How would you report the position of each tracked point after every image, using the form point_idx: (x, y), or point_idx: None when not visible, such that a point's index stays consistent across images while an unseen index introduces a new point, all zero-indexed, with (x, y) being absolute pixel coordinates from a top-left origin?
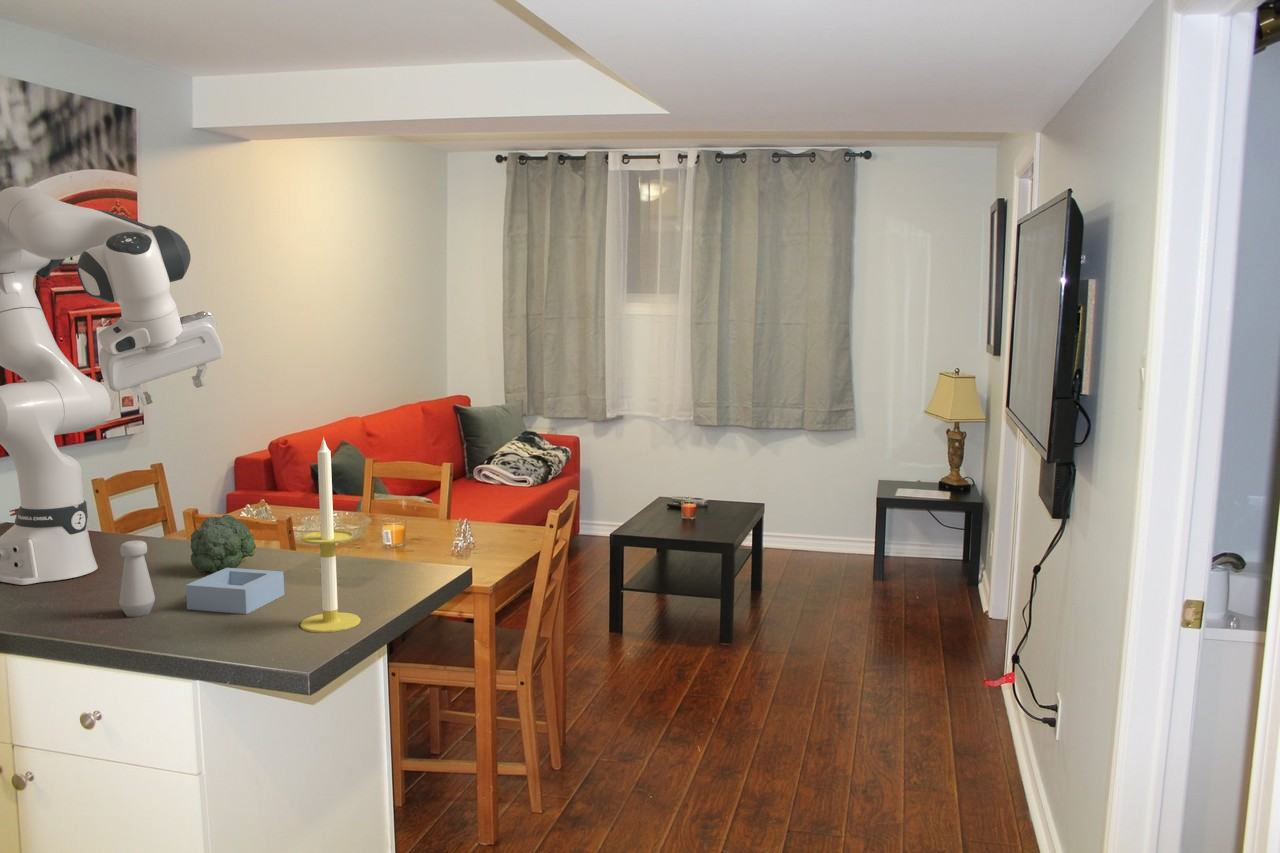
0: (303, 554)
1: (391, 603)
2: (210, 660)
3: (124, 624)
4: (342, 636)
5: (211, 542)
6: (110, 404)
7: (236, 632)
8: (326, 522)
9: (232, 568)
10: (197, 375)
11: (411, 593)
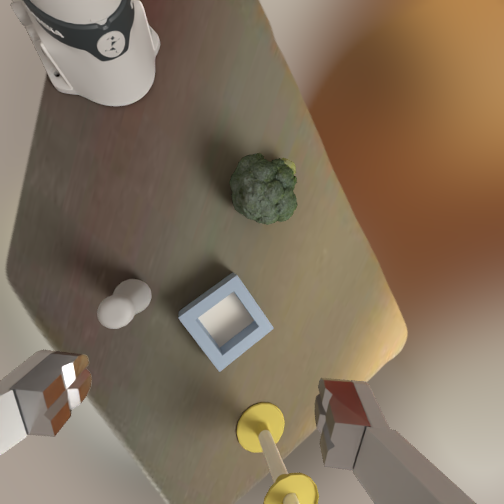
0: (337, 192)
1: None
2: (143, 472)
3: None
4: (252, 465)
5: (247, 210)
6: None
7: (189, 408)
8: None
9: (240, 282)
10: (366, 453)
11: None
